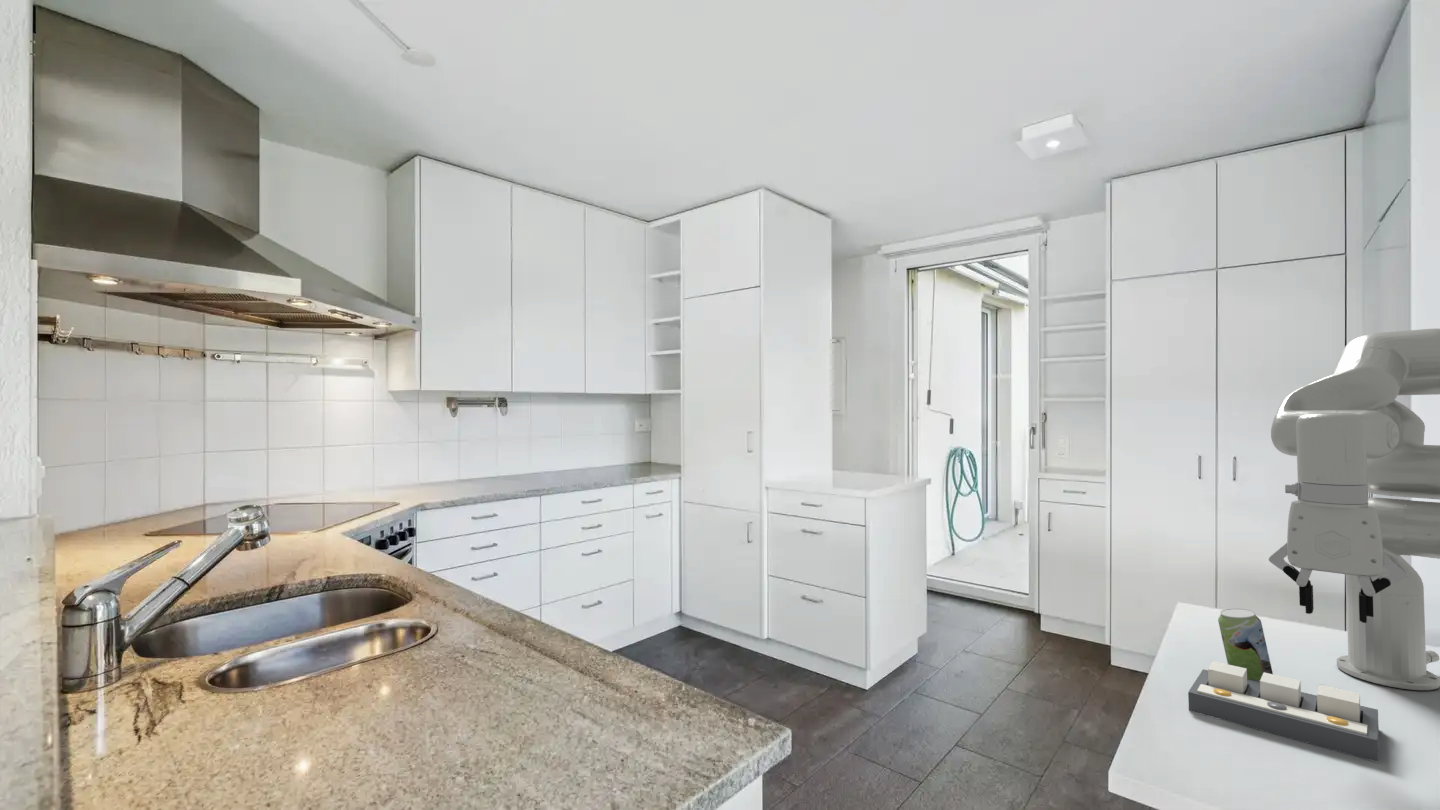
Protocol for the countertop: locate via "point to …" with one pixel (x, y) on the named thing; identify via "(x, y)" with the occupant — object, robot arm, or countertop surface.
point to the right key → (1338, 703)
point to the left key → (1227, 677)
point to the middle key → (1280, 689)
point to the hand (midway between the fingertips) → (1335, 614)
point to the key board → (1288, 718)
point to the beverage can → (1245, 642)
